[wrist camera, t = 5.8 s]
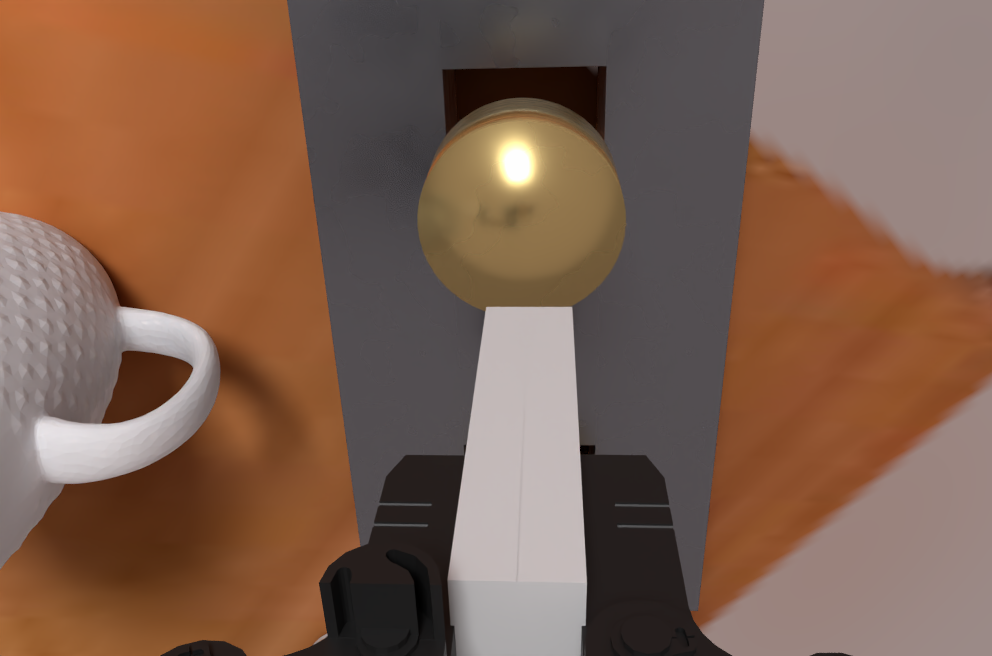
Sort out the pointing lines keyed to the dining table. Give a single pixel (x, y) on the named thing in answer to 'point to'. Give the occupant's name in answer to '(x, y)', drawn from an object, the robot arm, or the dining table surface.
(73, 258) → the mug
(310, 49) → the mount plate
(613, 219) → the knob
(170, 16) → the dining table surface
